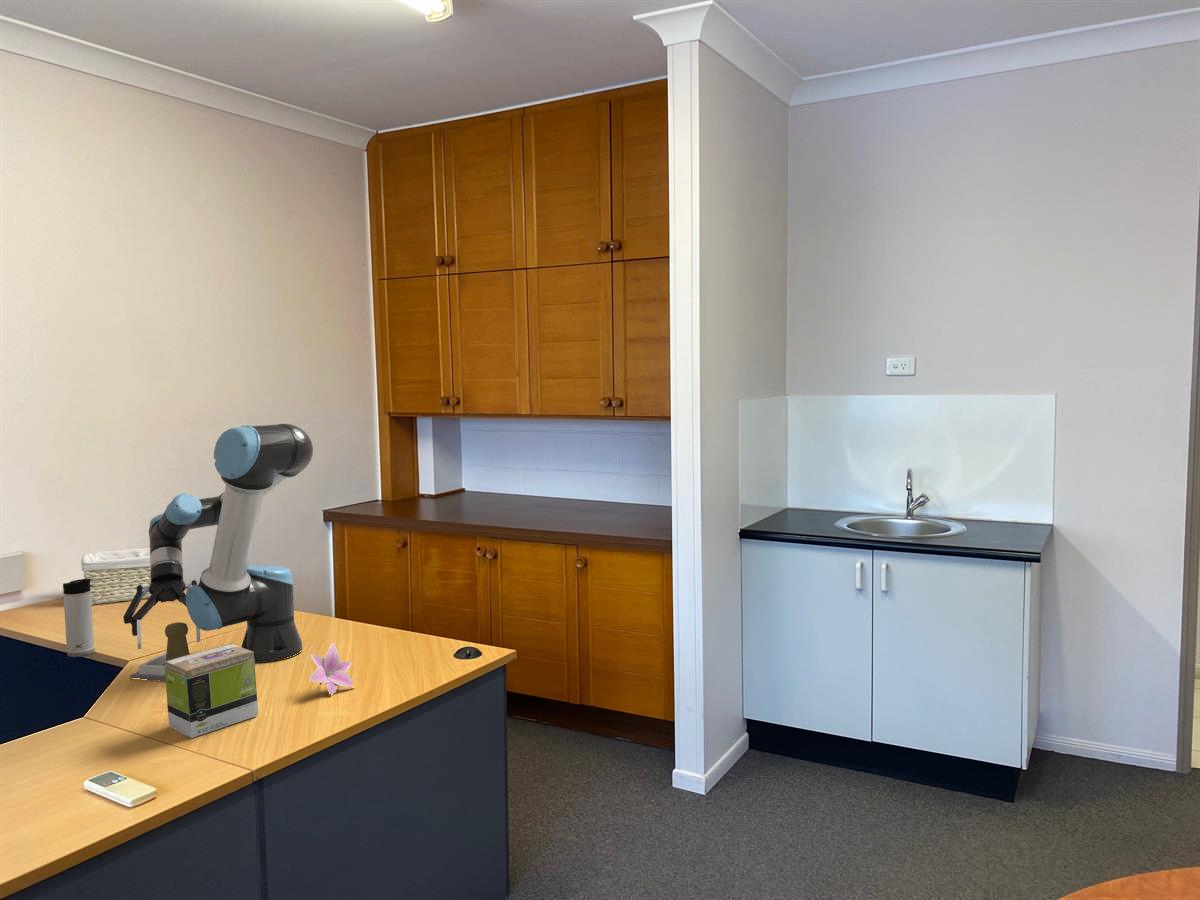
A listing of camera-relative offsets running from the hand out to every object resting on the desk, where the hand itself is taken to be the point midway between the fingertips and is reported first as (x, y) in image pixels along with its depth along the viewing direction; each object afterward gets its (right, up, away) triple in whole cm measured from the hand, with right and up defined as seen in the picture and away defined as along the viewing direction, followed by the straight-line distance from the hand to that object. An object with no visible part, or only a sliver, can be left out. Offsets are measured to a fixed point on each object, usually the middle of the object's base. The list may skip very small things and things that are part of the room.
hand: (169, 642), depth 217 cm
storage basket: (-50, -2, +75) cm, 90 cm away
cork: (+1, -7, +3) cm, 8 cm away
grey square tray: (-1, -8, +3) cm, 8 cm away
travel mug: (-32, -7, +17) cm, 37 cm away
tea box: (+23, -11, -29) cm, 39 cm away
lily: (+43, -9, -11) cm, 45 cm away
